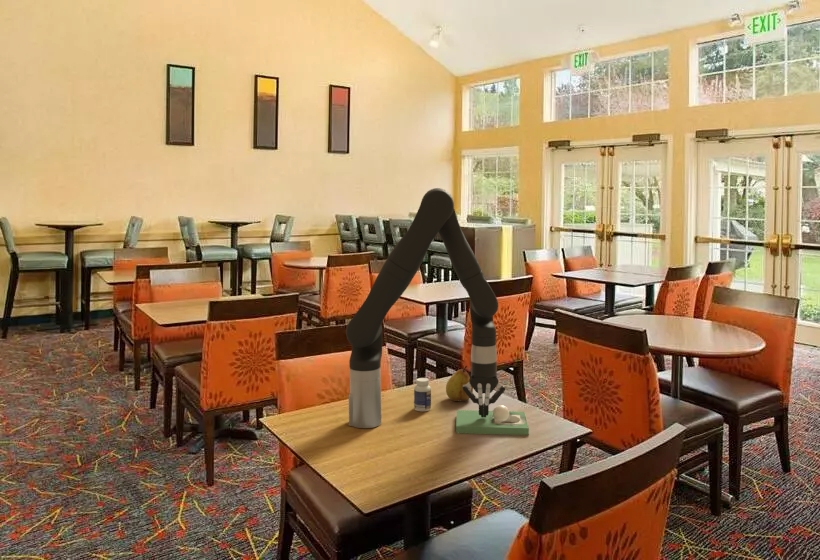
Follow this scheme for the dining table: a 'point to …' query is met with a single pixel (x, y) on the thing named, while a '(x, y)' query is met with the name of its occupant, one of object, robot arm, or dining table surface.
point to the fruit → (458, 385)
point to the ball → (501, 413)
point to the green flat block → (491, 423)
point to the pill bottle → (422, 395)
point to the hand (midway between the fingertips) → (483, 416)
